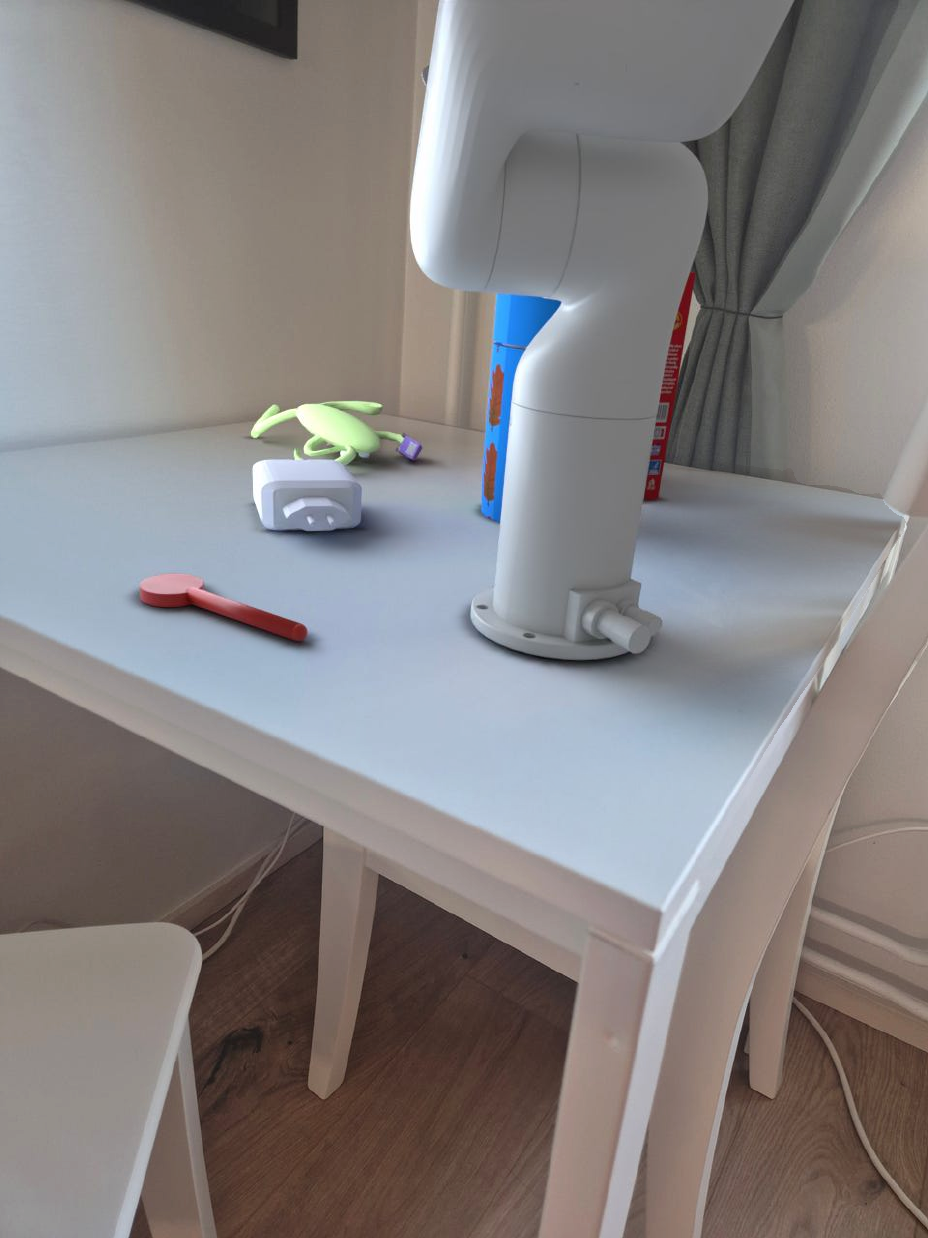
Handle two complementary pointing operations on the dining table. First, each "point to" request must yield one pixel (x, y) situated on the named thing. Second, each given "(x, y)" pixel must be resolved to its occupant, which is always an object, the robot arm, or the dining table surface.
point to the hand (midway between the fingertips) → (513, 184)
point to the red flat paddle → (213, 603)
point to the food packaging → (668, 394)
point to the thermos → (507, 384)
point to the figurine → (338, 429)
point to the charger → (306, 495)
